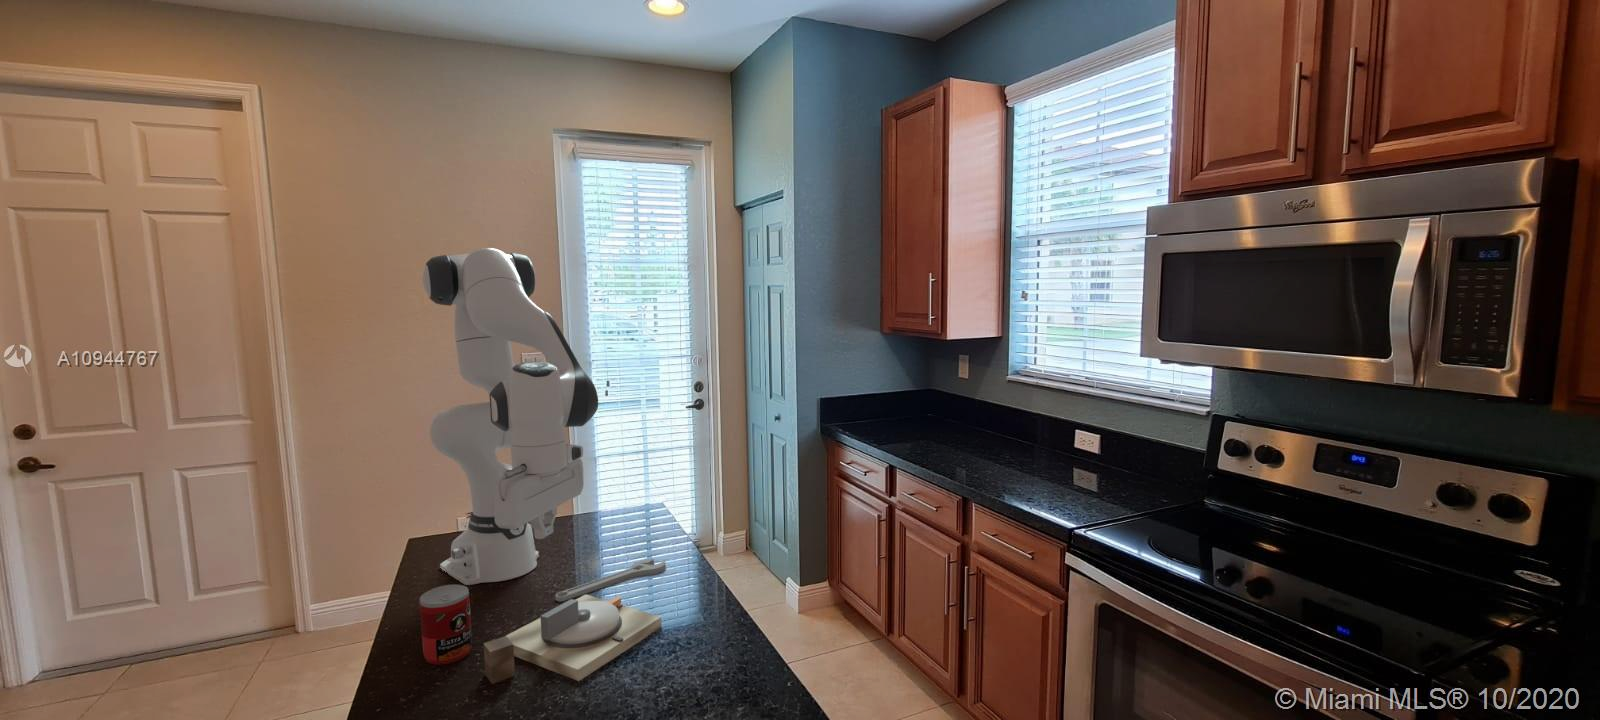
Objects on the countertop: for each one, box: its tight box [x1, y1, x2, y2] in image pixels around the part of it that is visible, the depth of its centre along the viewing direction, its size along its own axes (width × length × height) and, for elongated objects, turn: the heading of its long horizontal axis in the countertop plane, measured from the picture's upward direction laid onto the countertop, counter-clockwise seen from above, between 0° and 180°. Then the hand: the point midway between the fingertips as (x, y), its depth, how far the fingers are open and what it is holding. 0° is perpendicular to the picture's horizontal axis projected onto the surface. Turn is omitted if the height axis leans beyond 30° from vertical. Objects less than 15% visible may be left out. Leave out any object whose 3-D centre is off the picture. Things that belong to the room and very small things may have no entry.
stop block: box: [482, 635, 516, 685], centre depth 111 cm, size 4×4×6 cm
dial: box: [539, 596, 622, 644], centre depth 123 cm, size 18×13×6 cm
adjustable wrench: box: [555, 558, 666, 603], centre depth 147 cm, size 25×6×2 cm, turn 129°
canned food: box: [419, 584, 473, 665], centre depth 118 cm, size 8×8×11 cm
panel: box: [505, 594, 663, 682], centre depth 123 cm, size 20×20×2 cm
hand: (544, 536), depth 116 cm, fingers closed
